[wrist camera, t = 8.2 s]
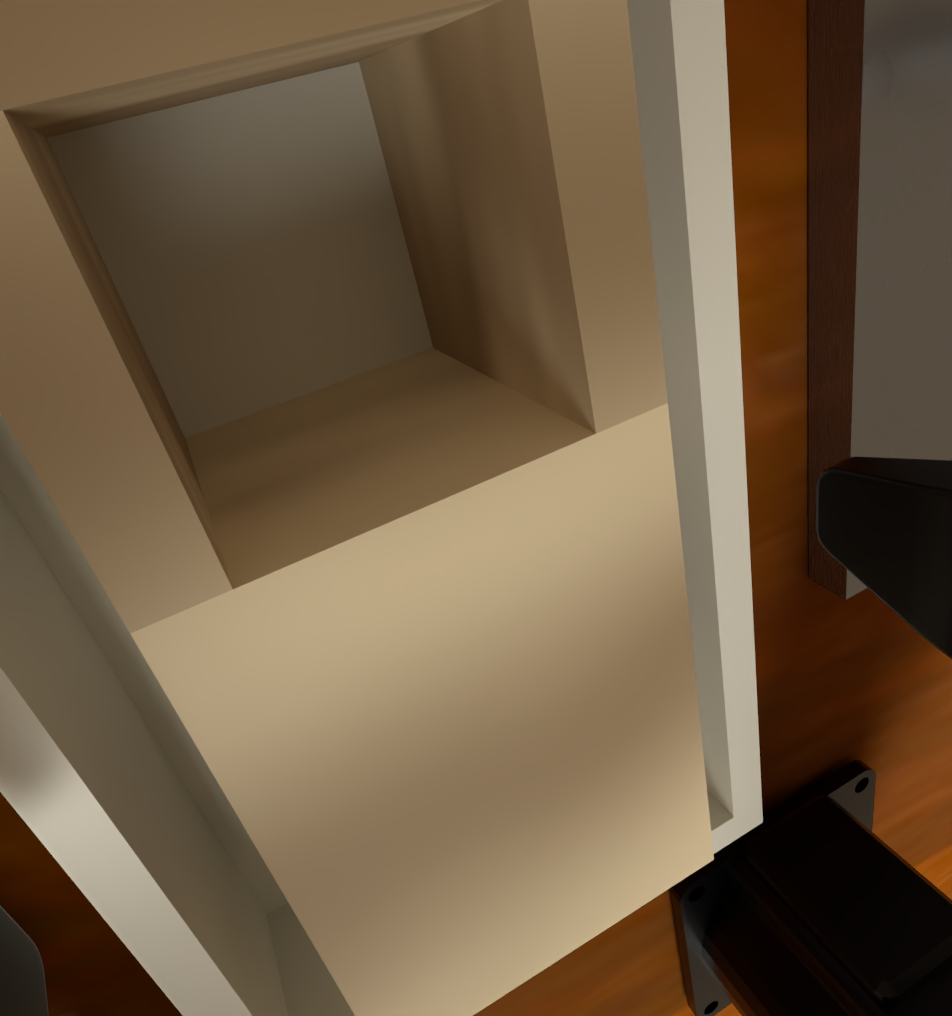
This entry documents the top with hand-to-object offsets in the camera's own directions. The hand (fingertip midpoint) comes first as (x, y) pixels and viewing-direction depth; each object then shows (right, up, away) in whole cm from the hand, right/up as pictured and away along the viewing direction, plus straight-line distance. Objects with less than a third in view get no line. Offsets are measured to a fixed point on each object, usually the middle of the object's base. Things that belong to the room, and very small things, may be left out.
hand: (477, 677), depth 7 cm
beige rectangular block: (-2, +2, +3) cm, 4 cm away
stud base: (+10, +9, +6) cm, 14 cm away
